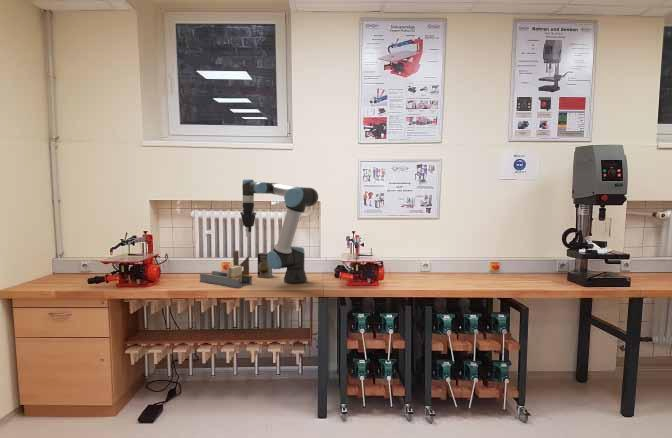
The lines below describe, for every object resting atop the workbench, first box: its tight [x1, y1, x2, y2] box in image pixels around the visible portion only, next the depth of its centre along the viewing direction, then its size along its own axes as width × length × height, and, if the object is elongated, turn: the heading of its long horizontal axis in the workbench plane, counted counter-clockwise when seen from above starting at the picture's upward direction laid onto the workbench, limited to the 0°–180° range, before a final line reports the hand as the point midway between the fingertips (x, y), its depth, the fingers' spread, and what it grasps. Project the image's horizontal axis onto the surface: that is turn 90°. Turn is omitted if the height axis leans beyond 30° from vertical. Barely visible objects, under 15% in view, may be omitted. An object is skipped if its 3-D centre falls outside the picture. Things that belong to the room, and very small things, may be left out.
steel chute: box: [199, 270, 253, 289], centre depth 237 cm, size 34×12×5 cm, turn 60°
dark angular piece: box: [232, 250, 250, 275], centre depth 257 cm, size 4×11×18 cm, turn 96°
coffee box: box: [257, 252, 273, 278], centre depth 258 cm, size 9×6×16 cm
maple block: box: [226, 265, 243, 282], centre depth 233 cm, size 6×7×10 cm
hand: (248, 236), depth 251 cm, fingers closed
